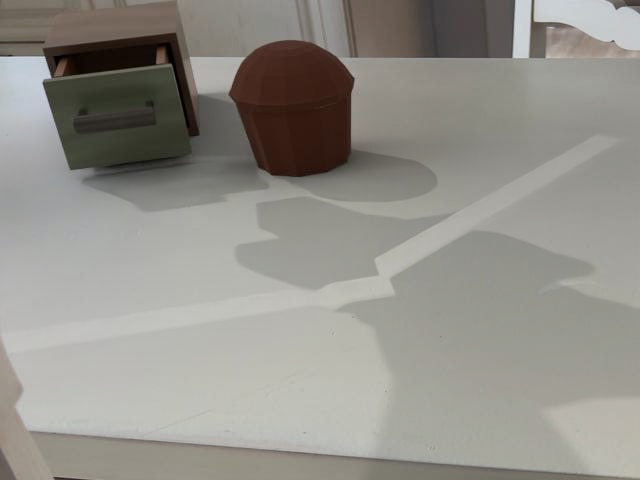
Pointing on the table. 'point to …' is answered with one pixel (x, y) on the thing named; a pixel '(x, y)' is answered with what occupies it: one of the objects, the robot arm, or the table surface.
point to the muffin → (295, 107)
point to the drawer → (118, 106)
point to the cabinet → (127, 41)
